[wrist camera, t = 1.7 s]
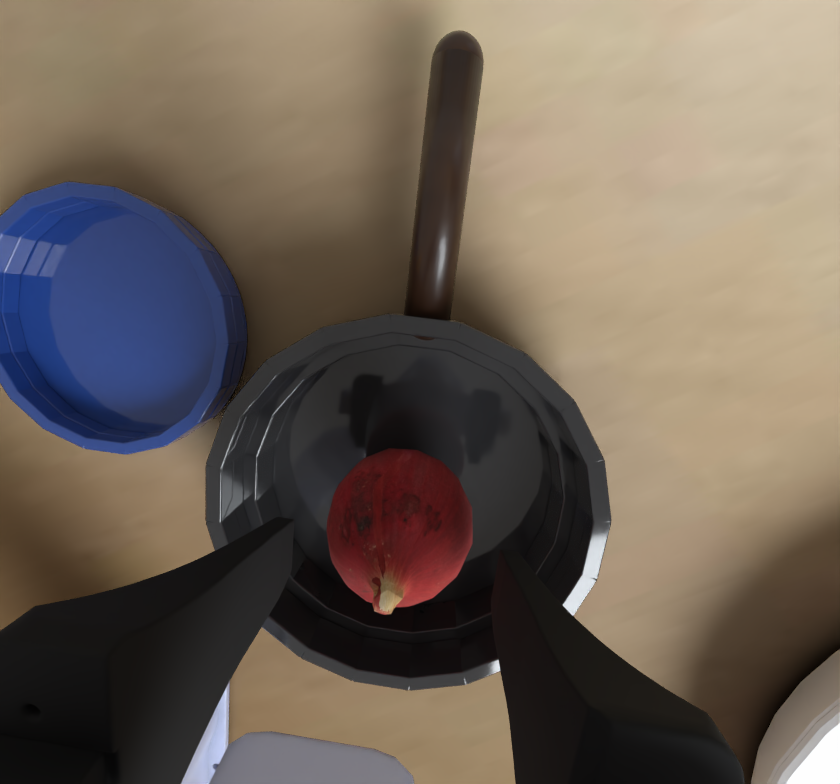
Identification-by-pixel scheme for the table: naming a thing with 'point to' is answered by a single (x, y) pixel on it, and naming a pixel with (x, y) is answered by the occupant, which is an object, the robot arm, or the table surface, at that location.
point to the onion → (399, 528)
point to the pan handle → (444, 175)
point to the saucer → (115, 319)
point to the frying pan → (433, 435)
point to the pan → (805, 733)
